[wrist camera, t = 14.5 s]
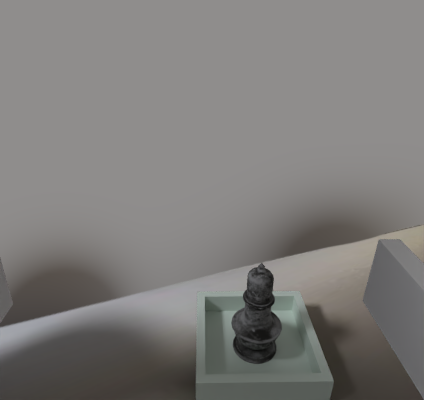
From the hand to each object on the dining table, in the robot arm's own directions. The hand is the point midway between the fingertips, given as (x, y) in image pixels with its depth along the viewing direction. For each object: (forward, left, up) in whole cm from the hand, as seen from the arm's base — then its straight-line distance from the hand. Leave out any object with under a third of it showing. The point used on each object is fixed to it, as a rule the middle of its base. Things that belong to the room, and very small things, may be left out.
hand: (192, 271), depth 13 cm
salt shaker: (+7, +21, -27) cm, 35 cm away
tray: (+7, +21, -28) cm, 35 cm away
